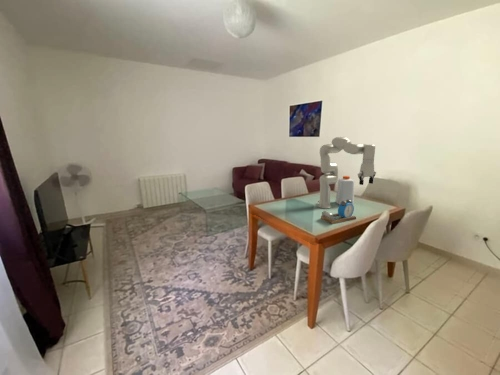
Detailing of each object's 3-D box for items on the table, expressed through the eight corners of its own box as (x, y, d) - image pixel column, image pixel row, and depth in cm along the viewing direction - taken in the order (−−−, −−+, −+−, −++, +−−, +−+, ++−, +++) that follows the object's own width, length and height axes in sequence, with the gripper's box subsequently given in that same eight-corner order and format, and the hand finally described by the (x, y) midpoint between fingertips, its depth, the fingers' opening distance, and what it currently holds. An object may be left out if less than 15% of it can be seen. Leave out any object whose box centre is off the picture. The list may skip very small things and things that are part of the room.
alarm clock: (343, 220, 182) (344, 202, 178) (336, 217, 187) (338, 200, 184) (353, 217, 188) (354, 200, 185) (347, 214, 193) (348, 198, 190)
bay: (323, 218, 188) (323, 215, 187) (344, 214, 195) (344, 212, 195) (334, 223, 176) (334, 221, 175) (355, 219, 183) (356, 216, 183)
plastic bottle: (355, 205, 217) (357, 177, 211) (339, 206, 218) (341, 177, 211) (348, 201, 232) (350, 174, 226) (334, 201, 232) (335, 175, 226)
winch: (319, 218, 186) (320, 209, 184) (324, 217, 188) (325, 209, 186) (333, 225, 172) (333, 215, 170) (338, 224, 174) (338, 214, 172)
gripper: (372, 160, 172) (370, 182, 176) (355, 161, 166) (353, 184, 170) (381, 161, 165) (378, 183, 169) (363, 162, 159) (361, 186, 163)
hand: (366, 183), depth 169 cm, fingers open, 9 cm apart
